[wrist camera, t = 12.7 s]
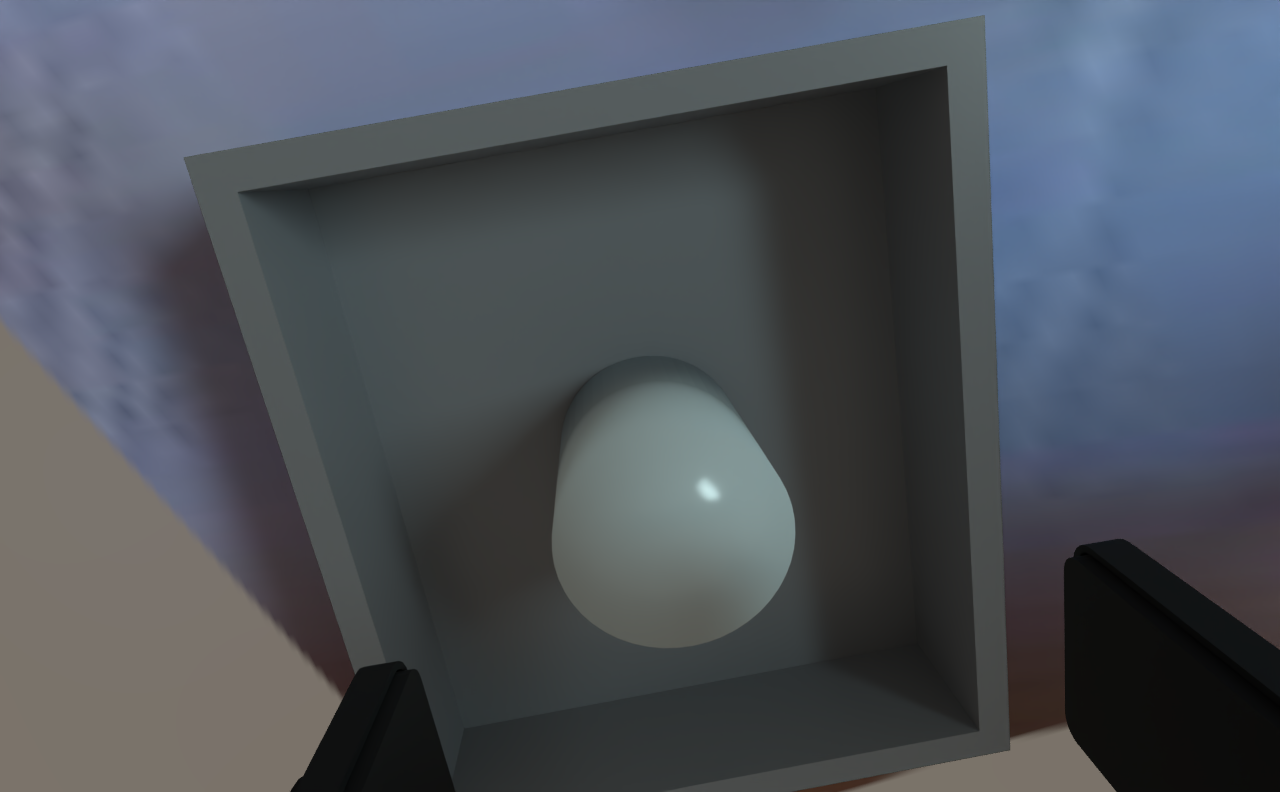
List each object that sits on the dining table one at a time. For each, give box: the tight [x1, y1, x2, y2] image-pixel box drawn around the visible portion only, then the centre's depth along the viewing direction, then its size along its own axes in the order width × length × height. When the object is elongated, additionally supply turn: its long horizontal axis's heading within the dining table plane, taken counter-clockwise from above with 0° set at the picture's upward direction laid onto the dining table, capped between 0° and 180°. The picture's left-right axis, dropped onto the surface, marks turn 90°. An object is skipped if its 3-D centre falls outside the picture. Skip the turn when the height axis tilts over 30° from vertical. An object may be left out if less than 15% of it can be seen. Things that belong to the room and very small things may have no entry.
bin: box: [184, 15, 1010, 792], centre depth 19 cm, size 16×18×4 cm
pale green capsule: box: [552, 356, 795, 648], centre depth 18 cm, size 5×5×6 cm
